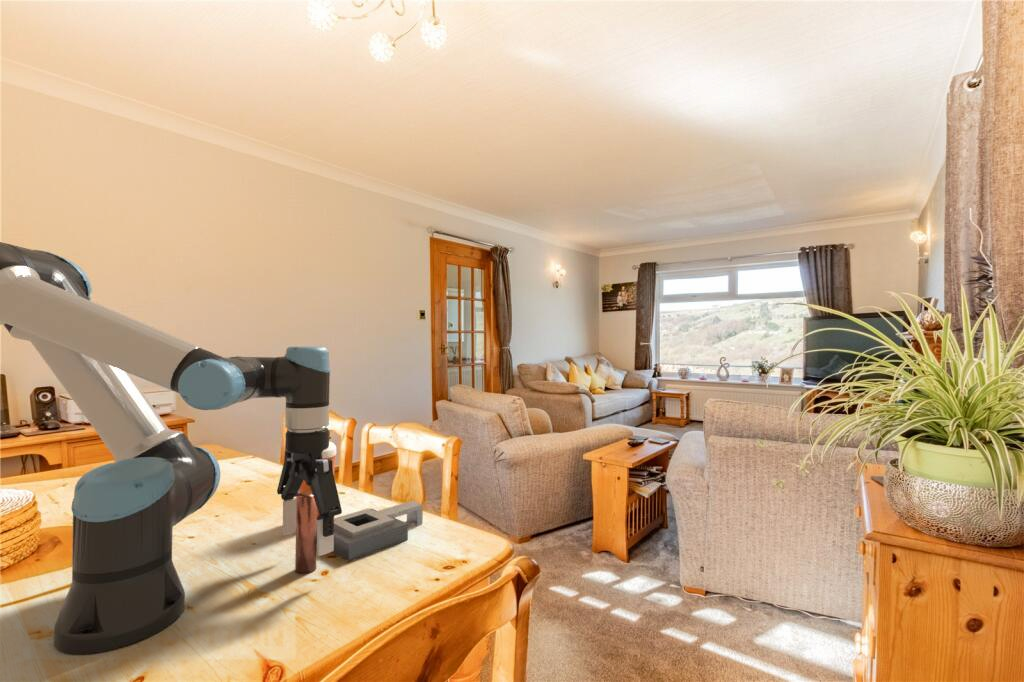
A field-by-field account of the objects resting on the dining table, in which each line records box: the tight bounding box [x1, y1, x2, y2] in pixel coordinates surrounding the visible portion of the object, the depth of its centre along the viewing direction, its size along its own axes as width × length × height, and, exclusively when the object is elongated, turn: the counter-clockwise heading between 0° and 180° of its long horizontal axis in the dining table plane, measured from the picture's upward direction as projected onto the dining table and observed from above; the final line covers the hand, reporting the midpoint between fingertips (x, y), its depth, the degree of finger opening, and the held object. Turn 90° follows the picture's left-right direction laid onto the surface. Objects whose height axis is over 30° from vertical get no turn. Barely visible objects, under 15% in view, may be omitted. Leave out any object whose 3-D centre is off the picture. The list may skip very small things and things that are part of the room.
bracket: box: [334, 500, 424, 538], centre depth 105 cm, size 20×10×4 cm, turn 139°
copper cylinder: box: [294, 492, 317, 576], centre depth 88 cm, size 4×4×14 cm
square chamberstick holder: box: [331, 508, 409, 563], centre depth 102 cm, size 14×14×4 cm
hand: (307, 542), depth 88 cm, fingers open, 13 cm apart
